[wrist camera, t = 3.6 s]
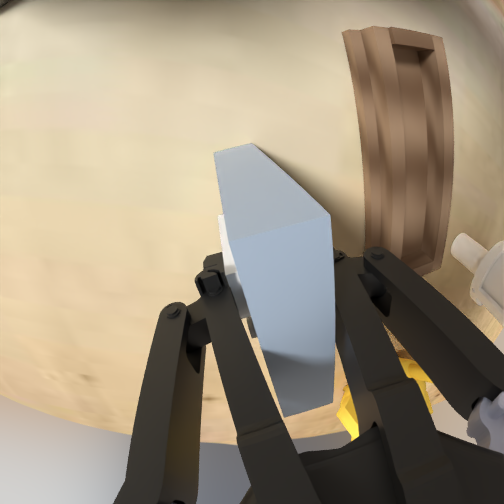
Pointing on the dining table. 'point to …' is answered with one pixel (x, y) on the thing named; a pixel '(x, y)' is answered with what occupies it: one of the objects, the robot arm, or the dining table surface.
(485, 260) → the strainer
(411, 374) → the teapot
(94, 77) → the dining table surface
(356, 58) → the track
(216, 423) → the dining table surface
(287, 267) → the door panel
